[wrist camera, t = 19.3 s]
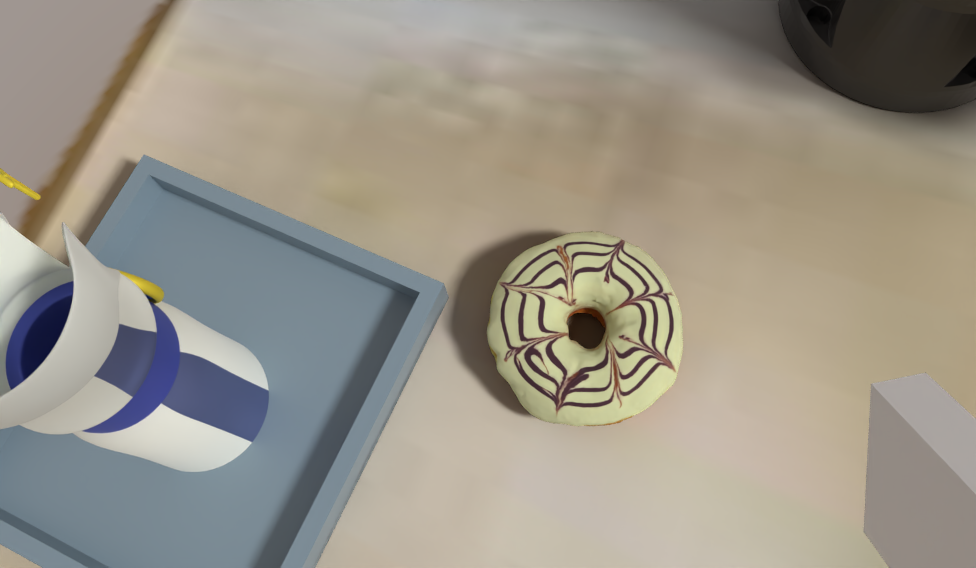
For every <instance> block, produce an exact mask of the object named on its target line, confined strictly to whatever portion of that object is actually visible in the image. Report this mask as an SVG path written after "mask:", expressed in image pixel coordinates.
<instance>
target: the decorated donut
mask: <svg viewBox="0 0 976 568" xmlns="http://www.w3.org/2000/svg"><path fill="white" fill-rule="evenodd" d="M490 304H491V306H490V318H489V322H488V326H487V337H488V343H489V347H490V350H491V352H492V354H493V355H494V357H495V361H496V363H497V366H496V367H497V371H498V372H499V373H500V374H501V376H502V377H504V378H505V380H506V381H507V382H508V383H509V384H510V386H511V388H512V390H513V391H514V393H515V394H516V396H517V398H518V400H519V402H520V403H521V405H522V406H523V407H524V408H525V409H526V410H527V411H528V412H529V413H530V414H532V415H533V416H534V417H536V418H538V419H540V420H543V421H546V422H550V423H562V424H567V425H572V426H583V425H584V426H599V425H611V424H615V423H620V422H621V421H623V420H625V419H628V418H631V417H632V416H634V415H637V414H639V413H640V412H642V411H644V410H645V409H647V408H648V407H650V406H651V405H652V404H653V403H654V402H655V401H656V400H657V399H658V398H659V397H660V396H661V395H662V394H664V393H665V392H666V391H667V389H669V388H670V387H671V386H672V385H673V384H674V382H675V380H676V377H677V373H678V368H679V364H680V361H681V356H682V352H683V338H682V332H683V326H682V320H681V317H682V314H681V310H680V307H679V303H678V300H677V297H676V295H675V293H674V291H673V290H672V288H671V285H670V283H669V281H668V279H667V277H666V275H665V273H664V272H663V270H662V269H661V268H660V267H659V266H658V265H657V264H656V263H655V261H654V260H653V258H652V257H651V256H650V255H648V254H647V253H646V252H645V251H643V250H642V249H640V248H639V247H638V246H634V245H631V244H630V243H628V242H626V241H624V240H622V239H620V238H618V237H615V236H611V235H607V234H604V233H602V232H593V231H590V232H577V233H569V234H566V235H563V236H560V237H557V238H554V239H552V240H550V241H547V242H545V243H543V244H540V245H536V246H534V247H531V248H529V249H528V250H525V251H524V252H523V253H521V254H520V255H519V256H517V257H516V258H515V259H514V260H513V261H512V262H511V263H510V264H509V265H508V267H507V268H506V270H505V271H504V272H503V274H502V276H501V278H500V279H499V281H498V282H497V285H496V288H495V290H494V292H493V295H492V297H491V302H490ZM574 313H586V314H587V313H589V314H592V316H593V317H597V319H598V320H599V321H600V322H601V324H602V326H604V328H605V329H606V330H605V333H604V335H603V338H602V341H601V343H600V344H599V345H598V346H597V347H595V348H593V349H586V348H584V347H582V346H581V345H579V344H578V343H577V342H576V341H574V340H570V339H569V330H568V325H567V321H568V318H569V317H570V316H572V315H573V314H574Z"/></svg>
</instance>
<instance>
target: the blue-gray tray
mask: <svg viewBox="0 0 976 568" xmlns="http://www.w3.org/2000/svg"><path fill="white" fill-rule="evenodd" d="M85 247H86V248H87V249H88V250H89V252H90V253H91V254H92V255H93V256H94V257H95V258H96V259H97V260H98V261H99V262H100V263H102V264H103V265H104V266H106V267H108V268H113V269H116V270H120V271H123V272H126V273H129V274H132V275H135V276H138V277H140V278H143V279H145V280H147V281H150V282H152V283H154V284H155V285H157V286H159V287H160V288H161V289H162V290H163V292H164V298H163V300H162V302H164V303H167V304H169V305H171V306H173V307H175V308H177V309H179V310H180V311H182V312H184V313H186V314H187V315H189V316H190V317H192V318H194V319H195V320H197V321H198V322H200V323H202V324H203V325H205V326H207V327H209V328H210V329H212V330H214V331H216V332H218V333H220V334H222V335H224V336H226V337H228V338H230V339H232V340H234V341H236V342H238V343H240V344H241V345H243V346H244V347H246V348H247V349H248V350H249V351H250V352H251V353H252V354H253V355H254V356H255V357H256V358H257V360H258V361H259V362H260V364H261V366H262V368H263V370H264V372H265V375H266V378H267V382H268V389H269V403H268V409H267V414H266V417H265V420H264V423H263V425H262V427H261V429H260V431H259V433H258V435H257V436H256V438H255V439H254V441H253V442H252V443H251V444H250V446H249V447H248V448H247V449H246V450H245V451H244V452H243V453H241V454H240V455H239V456H238V457H236V458H235V459H234V460H232V461H230V462H229V463H227V464H225V465H223V466H220V467H218V468H215V469H212V470H208V471H202V472H185V471H179V470H176V469H172V468H170V467H167V466H164V465H161V464H159V463H156V462H153V461H150V460H147V459H144V458H140V457H137V456H133V455H129V454H125V453H121V452H117V451H113V450H109V449H106V448H102V447H99V446H96V445H94V444H91V443H89V442H87V441H84V440H82V439H81V438H79V437H77V436H76V435H74V434H73V433H70V434H45V433H40V432H36V431H32V430H30V429H27V428H25V427H22V426H20V425H17V426H13V427H9V428H4V429H0V544H1V545H3V546H5V547H6V548H8V549H10V550H12V551H14V552H15V553H17V554H19V555H21V556H23V557H24V558H26V559H28V560H30V561H32V562H33V563H35V564H37V565H39V566H41V567H42V568H315V567H316V565H317V563H318V561H319V559H320V557H321V554H322V552H323V550H324V548H325V546H326V544H327V542H328V540H329V538H330V536H331V534H332V532H333V530H334V528H335V526H336V524H337V522H338V520H339V518H340V516H341V514H342V512H343V510H344V508H345V506H346V504H347V502H348V500H349V498H350V496H351V494H352V492H353V490H354V488H355V486H356V484H357V482H358V480H359V478H360V476H361V474H362V472H363V470H364V468H365V466H366V464H367V462H368V459H369V457H370V455H371V453H372V451H373V449H374V447H375V445H376V443H377V441H378V439H379V437H380V435H381V433H382V431H383V429H384V427H385V425H386V423H387V421H388V419H389V417H390V415H391V413H392V411H393V409H394V407H395V405H396V403H397V401H398V399H399V397H400V395H401V393H402V391H403V389H404V387H405V385H406V383H407V381H408V379H409V377H410V375H411V373H412V371H413V369H414V366H415V364H416V362H417V360H418V358H419V356H420V354H421V352H422V350H423V348H424V346H425V344H426V342H427V340H428V338H429V336H430V334H431V332H432V330H433V328H434V326H435V324H436V322H437V320H438V318H439V316H440V314H441V312H442V310H443V308H444V306H445V304H446V302H447V300H448V298H449V297H448V294H447V291H446V288H445V285H444V283H441V282H439V281H437V280H434V279H432V278H430V277H427V276H425V275H423V274H420V273H418V272H416V271H413V270H411V269H409V268H406V267H404V266H402V265H399V264H397V263H395V262H392V261H390V260H388V259H385V258H383V257H381V256H378V255H376V254H374V253H372V252H369V251H367V250H365V249H362V248H360V247H358V246H355V245H353V244H351V243H348V242H346V241H344V240H341V239H339V238H337V237H334V236H332V235H330V234H327V233H325V232H323V231H320V230H318V229H316V228H313V227H311V226H309V225H306V224H304V223H302V222H299V221H297V220H295V219H292V218H290V217H288V216H285V215H283V214H281V213H279V212H276V211H274V210H272V209H269V208H267V207H265V206H262V205H260V204H258V203H255V202H253V201H251V200H248V199H246V198H244V197H241V196H239V195H237V194H234V193H232V192H230V191H227V190H225V189H223V188H220V187H218V186H216V185H213V184H211V183H209V182H206V181H204V180H202V179H199V178H197V177H195V176H192V175H190V174H188V173H185V172H183V171H181V170H179V169H176V168H174V167H172V166H169V165H167V164H165V163H162V162H160V161H158V160H155V159H153V158H151V157H148V156H146V155H143V157H142V158H141V160H140V161H139V163H138V164H137V166H136V168H135V169H134V171H133V172H132V174H131V175H130V177H129V179H128V180H127V182H126V183H125V185H124V186H123V188H122V189H121V191H120V193H119V194H118V196H117V197H116V199H115V200H114V202H113V204H112V205H111V207H110V208H109V210H108V211H107V213H106V214H105V216H104V218H103V219H102V221H101V222H100V224H99V225H98V227H97V229H96V230H95V232H94V233H93V235H92V236H91V238H90V239H89V241H88V243H87V244H86V246H85Z"/></svg>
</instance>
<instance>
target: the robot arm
mask: <svg viewBox="0 0 976 568" xmlns="http://www.w3.org/2000/svg"><path fill="white" fill-rule="evenodd" d="M779 10H780V17H781V21H782V25H783V28H784V31H785V33H786V36H787V38H788V40H789V42H790V44H791V45H792V47H793V49H794V50H795V52H796V53H797V55H798V56H799V58H800V59H801V60H802V61H803V63H804V64H805V65H806V66H807V67H808V68H809V69H810V70H811V71H812V72H813V73H814V74H815V75H816V76H817V77H819V78H820V79H821V80H822V81H824V82H825V83H826V84H828V85H829V86H831V87H832V88H834V89H835V90H837V91H839V92H840V93H842V94H844V95H846V96H848V97H850V98H852V99H855V100H857V101H860V102H862V103H865V104H868V105H871V106H874V107H878V108H882V109H887V110H893V111H901V112H932V111H939V110H944V109H949V108H953V107H956V106H960V105H962V104H965V103H968V102H970V101H972V100H974V99H976V0H779ZM864 533H865V534H866V536H867V537H868V539H869V540H870V541H871V543H872V544H873V546H874V547H875V548H876V550H877V551H878V552H879V554H880V555H881V557H882V558H883V559H884V561H885V562H886V564H887V565H888V566H889V568H976V419H975V418H974V417H973V416H972V415H971V414H970V413H969V412H968V411H967V410H966V409H964V408H963V407H962V406H961V405H960V404H959V403H958V402H957V401H956V400H955V399H954V398H953V397H951V396H950V395H949V394H948V393H947V392H946V391H945V390H944V389H943V388H942V387H941V386H940V385H938V384H937V383H936V382H935V381H934V380H933V379H932V378H931V377H930V376H929V375H928V374H927V373H922V374H917V375H912V376H907V377H902V378H897V379H892V380H888V381H883V382H878V383H873V384H871V396H870V416H869V435H868V455H867V474H866V494H865V514H864Z"/></svg>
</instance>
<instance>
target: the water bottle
mask: <svg viewBox="0 0 976 568" xmlns="http://www.w3.org/2000/svg"><path fill="white" fill-rule="evenodd" d="M0 182H2V183H3V184H5V185H6V186H8V187H9V188H13V187H15V188H16V189H18V190H20V191H21V192H23V193H25V194H27V195H28V196H30V197H32V198H34V199H36V200H39V199H40V195H39V194H37V193H36V192H34V191H33V190H31V189H30V188H28V187H26V186H25V185H23V184H22V183H21V182H19V181H17V180H16V179H14V178H13V177H11V176H10V175H8V174H7V173H6V172H4V171H3V170H2V169H1V168H0ZM62 233H63V238H64V243H65V247H66V251H67V255H68V259H69V265H70V266H67V265H65V264H63V263H62V262H60V261H59V260H57V259H56V258H54V257H53V256H51V255H50V254H48V253H47V252H45V251H44V250H42V249H41V248H39V247H38V246H36V245H35V244H34V243H32V242H31V241H29V240H28V239H27V238H25V237H24V236H23V235H21V234H20V233H19V232H18V231H16V230H15V229H14V228H12V227H11V226H10V225H9V223H8V221H7V219H6V218H5V216H4V215H3V214H2V213H1V212H0V429H4V428H9V427H13V426H17V425H20V426H22V427H25V428H27V429H30V430H32V431H36V432H40V433H45V434H70V433H73V434H74V435H76V436H77V437H79V438H81V439H82V440H84V441H87V442H89V443H91V444H94V445H96V446H99V447H102V448H106V449H109V450H113V451H117V452H121V453H125V454H129V455H133V456H137V457H140V458H144V459H147V460H150V461H153V462H156V463H159V464H161V465H164V466H167V467H170V468H172V469H176V470H179V471H185V472H202V471H208V470H212V469H215V468H218V467H220V466H223V465H225V464H227V463H229V462H230V461H232V460H234V459H235V458H236V457H238V456H239V455H240V454H241V453H243V452H244V451H245V450H246V449H247V448H248V447H249V446H250V444H251V443H252V442H253V441H254V439H255V438H256V436H257V435H258V433H259V431H260V429H261V427H262V425H263V423H264V420H265V417H266V414H267V409H268V403H269V389H268V382H267V378H266V375H265V372H264V370H263V368H262V366H261V364H260V362H259V361H258V360H257V358H256V357H255V356H254V355H253V354H252V353H251V352H250V351H249V350H248V349H247V348H246V347H244V346H243V345H241V344H240V343H238V342H236V341H234V340H232V339H230V338H228V337H226V336H224V335H222V334H220V333H218V332H216V331H214V330H212V329H210V328H209V327H207V326H205V325H203V324H202V323H200V322H198V321H197V320H195V319H194V318H192V317H190V316H189V315H187V314H186V313H184V312H182V311H180V310H179V309H177V308H175V307H173V306H171V305H169V304H167V303H164V302H162V300H163V298H164V292H163V290H162V289H161V288H160V287H159V286H157V285H155V284H154V283H152V282H150V281H147V280H145V279H143V278H140V277H138V276H135V275H132V274H129V273H126V272H123V271H120V270H116V269H113V268H108V267H106V266H104V265H103V264H102V263H100V262H99V261H98V260H97V259H96V258H95V257H94V256H93V255H92V254H91V253H90V252H89V250H88V249H87V248H86V247H85V246H84V245H83V244H82V243H81V242H80V241H79V240H78V239H77V237H76V236H75V235H74V234H73V233H72V232H71V231H70V229H69V228H68V227H67V226H66V224H65V223H64V222H62Z"/></svg>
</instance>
